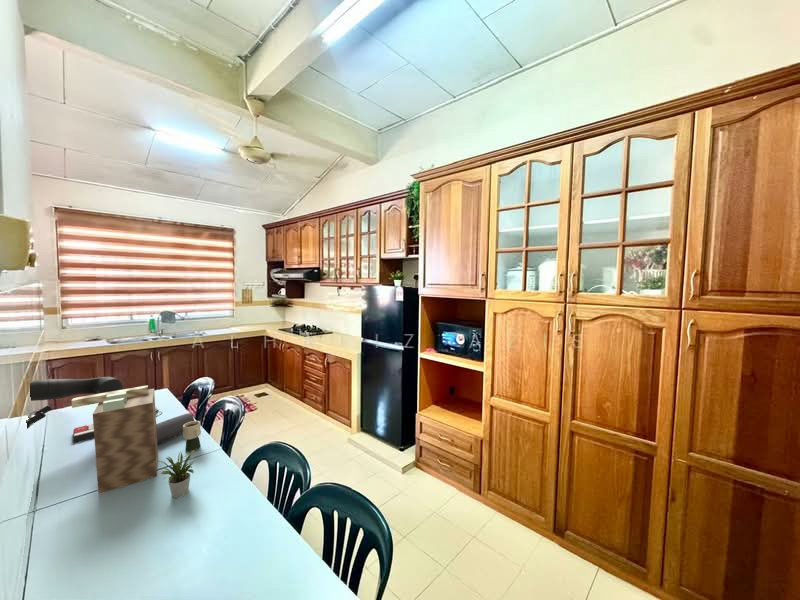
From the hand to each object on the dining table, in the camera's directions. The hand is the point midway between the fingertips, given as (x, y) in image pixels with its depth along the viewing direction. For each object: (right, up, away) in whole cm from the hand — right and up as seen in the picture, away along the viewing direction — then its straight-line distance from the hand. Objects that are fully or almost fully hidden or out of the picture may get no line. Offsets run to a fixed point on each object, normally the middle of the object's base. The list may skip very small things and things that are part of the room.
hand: (47, 410), depth 123 cm
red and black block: (-30, -30, +46) cm, 63 cm away
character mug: (+38, -30, +30) cm, 57 cm away
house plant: (+54, -32, -3) cm, 62 cm away
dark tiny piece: (-23, -29, +66) cm, 76 cm away
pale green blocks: (+23, 0, +4) cm, 23 cm away
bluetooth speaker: (+18, -30, +41) cm, 53 cm away
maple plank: (+15, +1, +11) cm, 19 cm away
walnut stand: (+23, -31, +12) cm, 40 cm away
